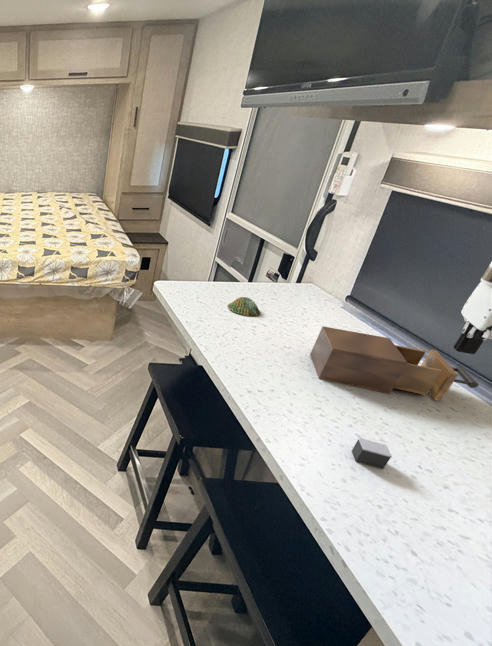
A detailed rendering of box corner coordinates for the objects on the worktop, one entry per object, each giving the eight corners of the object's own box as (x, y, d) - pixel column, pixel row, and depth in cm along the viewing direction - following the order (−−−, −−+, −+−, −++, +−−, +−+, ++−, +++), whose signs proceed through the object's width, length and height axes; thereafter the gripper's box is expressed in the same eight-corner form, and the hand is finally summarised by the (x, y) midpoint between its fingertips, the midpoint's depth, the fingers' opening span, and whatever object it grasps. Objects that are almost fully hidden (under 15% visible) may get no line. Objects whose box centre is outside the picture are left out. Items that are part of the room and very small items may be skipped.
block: (377, 457, 82) (386, 444, 80) (383, 469, 79) (392, 456, 78) (351, 450, 84) (358, 437, 82) (355, 461, 81) (363, 448, 80)
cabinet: (373, 367, 110) (389, 338, 105) (389, 394, 100) (408, 362, 95) (309, 354, 116) (322, 326, 111) (318, 378, 106) (333, 348, 101)
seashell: (232, 302, 136) (230, 291, 144) (228, 312, 138) (226, 301, 146) (265, 309, 133) (261, 298, 141) (260, 320, 135) (257, 308, 143)
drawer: (448, 380, 103) (465, 355, 99) (471, 407, 94) (490, 381, 90) (357, 362, 110) (369, 338, 107) (369, 385, 101) (383, 360, 98)
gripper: (559, 295, 77) (504, 372, 85) (515, 270, 89) (469, 340, 97) (504, 288, 80) (456, 363, 88) (468, 264, 92) (428, 333, 100)
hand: (463, 351), depth 93 cm, fingers closed
